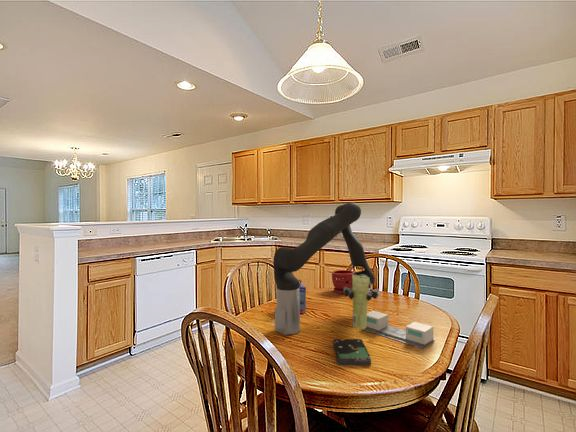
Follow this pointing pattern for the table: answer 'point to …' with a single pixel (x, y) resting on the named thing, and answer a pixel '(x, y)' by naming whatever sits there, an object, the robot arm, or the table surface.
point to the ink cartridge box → (302, 298)
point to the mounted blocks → (413, 330)
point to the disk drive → (351, 352)
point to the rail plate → (396, 335)
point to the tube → (360, 301)
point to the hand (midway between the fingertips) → (359, 297)
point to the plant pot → (342, 280)
